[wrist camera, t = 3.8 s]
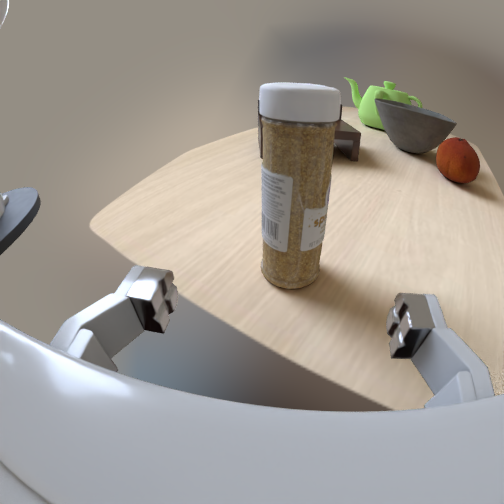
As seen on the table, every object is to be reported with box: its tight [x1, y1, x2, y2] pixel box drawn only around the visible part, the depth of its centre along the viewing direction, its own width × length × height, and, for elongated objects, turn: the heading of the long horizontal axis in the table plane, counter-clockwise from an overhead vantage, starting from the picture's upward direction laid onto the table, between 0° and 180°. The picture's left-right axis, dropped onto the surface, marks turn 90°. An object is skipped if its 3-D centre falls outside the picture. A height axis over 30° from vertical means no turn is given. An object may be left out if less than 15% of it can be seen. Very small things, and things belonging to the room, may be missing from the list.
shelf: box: [258, 100, 361, 161], centre depth 45 cm, size 16×12×8 cm
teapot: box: [345, 78, 422, 130], centre depth 65 cm, size 19×20×14 cm
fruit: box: [436, 137, 480, 183], centre depth 37 cm, size 9×9×8 cm
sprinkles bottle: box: [259, 82, 341, 289], centre depth 17 cm, size 5×5×14 cm
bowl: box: [374, 98, 457, 154], centre depth 49 cm, size 19×19×10 cm
